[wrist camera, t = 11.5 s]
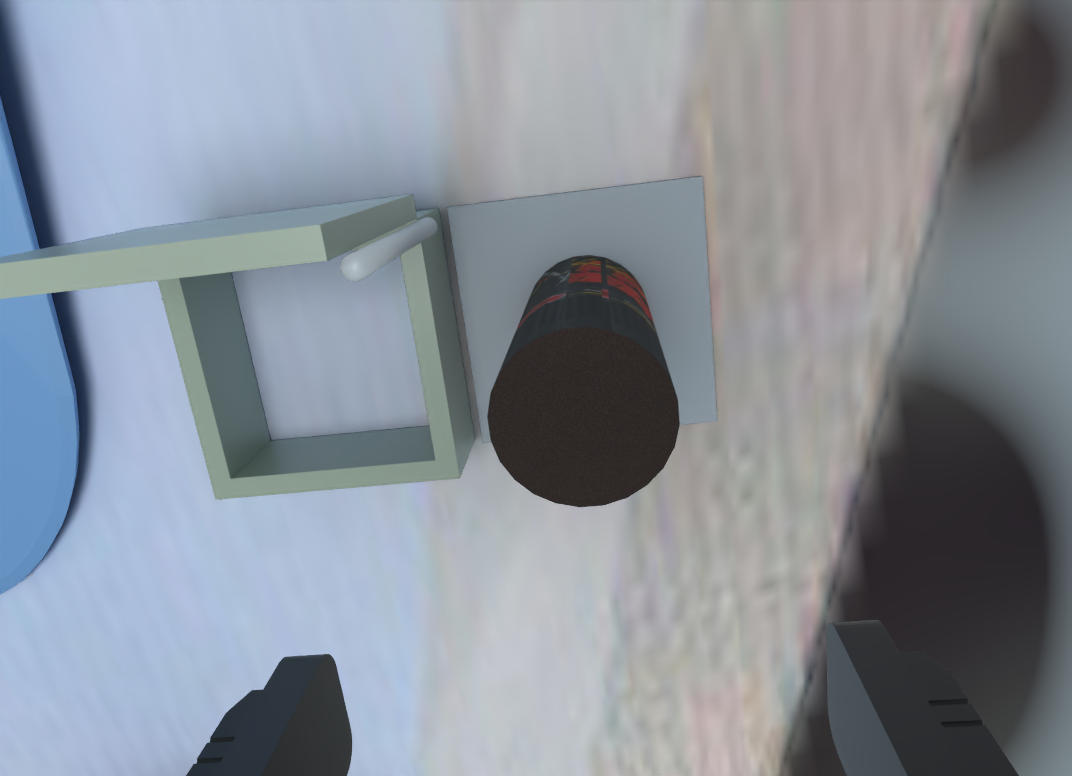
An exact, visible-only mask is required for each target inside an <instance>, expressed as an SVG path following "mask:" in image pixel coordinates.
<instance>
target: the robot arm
mask: <svg viewBox="0 0 1072 776" xmlns="http://www.w3.org/2000/svg"><path fill="white" fill-rule="evenodd" d="M827 691H828V714H829V721H830V727H831V732H832V736H833V740H834V743H835V746H836V749H837V752H838V755H839V757H840V759H841V762H842V765H843V767H844V770H845V772H846V775H847V776H1019V775H1018V774H1017V773H1016V771H1015V769H1014V768H1013V766H1012V765H1011V763H1010V762H1009V760H1008V759H1007V757H1006V756H1005V754H1004V753H1003V751H1002V750H1001V748H1000V747H999V745H998V744H997V742H996V741H995V739H994V738H993V736H992V735H991V733H990V732H989V730H988V729H987V727H986V726H983V724H982V720H981V718H980V717H979V715H978V714H977V712H976V711H975V709H974V708H973V706H972V705H971V704H969V703H968V699H967V697H966V695H965V694H964V693H963V691H962V689H961V688H960V687H959V685H958V683H957V682H956V680H955V679H954V677H953V676H952V674H951V673H950V672H949V671H947V670H946V669H944V668H943V667H942V666H941V665H939V664H938V663H936V662H935V661H934V660H932V659H931V658H930V657H928V656H927V655H925V654H924V653H923V652H907V653H899V652H898V650H897V648H896V646H895V645H894V643H893V641H892V639H891V638H890V636H889V634H888V633H887V631H886V629H885V628H884V626H883V624H882V623H881V622H880V621H879V620H870V621H855V622H839V623H829V624H828V627H827ZM351 755H352V734H351V728H350V723H349V719H348V715H347V710H346V706H345V702H344V697H343V693H342V689H341V684H340V680H339V676H338V672H337V667H336V664H335V661H334V659H333V657H332V656H331V655H329V654H323V655H307V656H292V657H285V658H283V659H282V660H281V661H280V662H279V664H278V666H277V667H276V669H275V671H274V672H273V674H272V676H271V678H270V679H269V681H268V683H267V684H266V686H265V688H264V689H263V690H252V691H251V692H250V693H248V694H247V695H246V696H245V697H244V698H243V699H242V700H240V701H239V702H238V703H237V704H236V705H235V706H234V707H232V708H231V709H230V710H229V711H228V712H227V713H226V714H225V716H224V717H223V719H222V720H221V722H220V723H219V725H218V727H217V728H216V730H215V731H214V733H213V734H212V736H211V738H210V743H207V744H206V746H205V747H204V749H203V750H202V752H201V753H200V755H199V757H198V758H197V764H193V766H192V768H191V769H190V771H189V772H188V774H187V776H347V773H348V770H349V767H350V762H351Z"/></svg>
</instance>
